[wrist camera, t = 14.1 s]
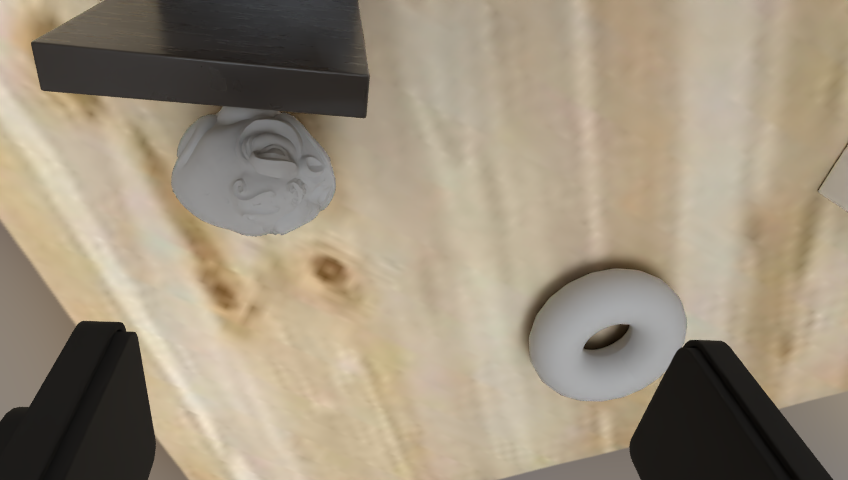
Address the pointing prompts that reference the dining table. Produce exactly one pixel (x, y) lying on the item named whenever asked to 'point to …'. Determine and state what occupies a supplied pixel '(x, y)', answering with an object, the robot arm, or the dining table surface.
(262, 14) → the book rack
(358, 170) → the dining table surface
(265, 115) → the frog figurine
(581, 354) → the donut
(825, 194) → the milk
